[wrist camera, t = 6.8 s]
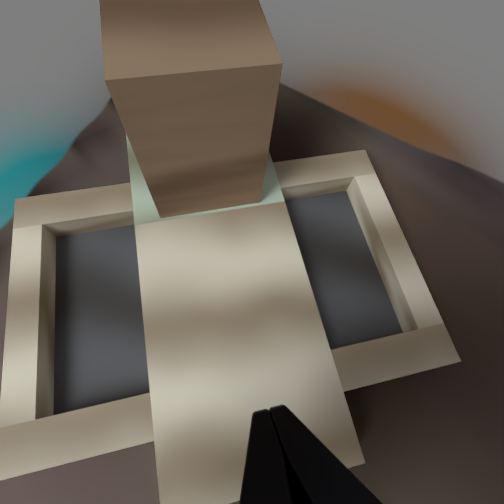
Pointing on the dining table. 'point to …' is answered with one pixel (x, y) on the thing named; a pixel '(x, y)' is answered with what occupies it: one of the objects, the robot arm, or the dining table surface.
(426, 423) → the dining table surface
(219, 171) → the walnut block
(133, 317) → the board
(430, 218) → the dining table surface
